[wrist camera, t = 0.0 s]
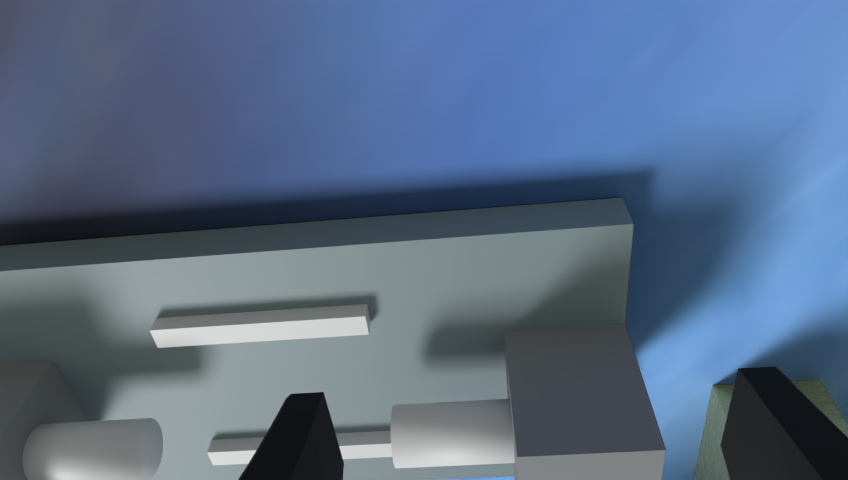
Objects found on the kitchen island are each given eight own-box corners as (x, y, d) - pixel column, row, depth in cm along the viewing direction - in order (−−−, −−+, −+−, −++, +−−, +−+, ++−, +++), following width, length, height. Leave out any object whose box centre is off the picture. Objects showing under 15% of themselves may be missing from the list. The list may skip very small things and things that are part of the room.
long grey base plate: (604, 440, 28) (642, 599, 22) (60, 467, 30) (-23, 618, 24) (622, 197, 21) (683, 342, 16) (-87, 252, 23) (-246, 398, 18)
